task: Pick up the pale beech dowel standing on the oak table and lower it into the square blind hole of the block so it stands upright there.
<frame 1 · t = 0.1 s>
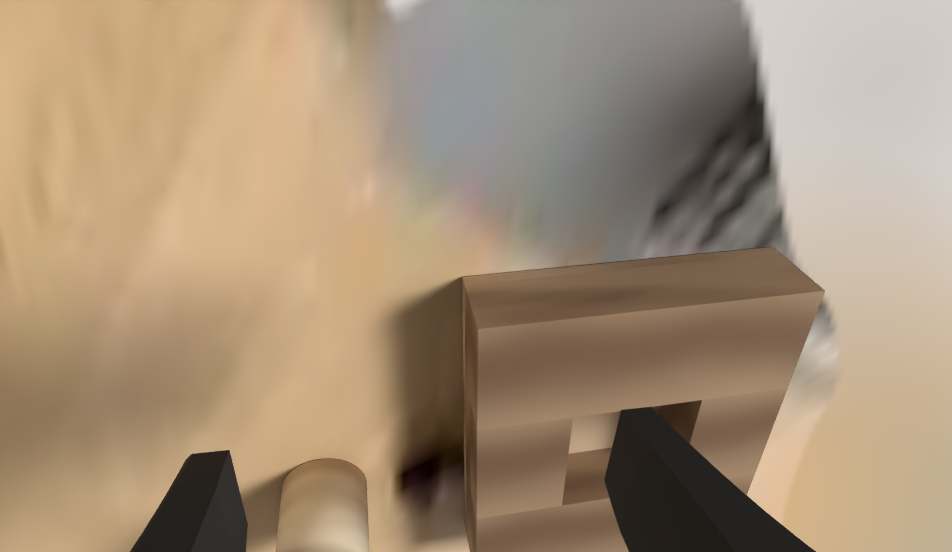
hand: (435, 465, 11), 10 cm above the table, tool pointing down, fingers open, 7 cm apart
socket block: (602, 400, 26), on the table
dowel: (324, 486, 26), on the table
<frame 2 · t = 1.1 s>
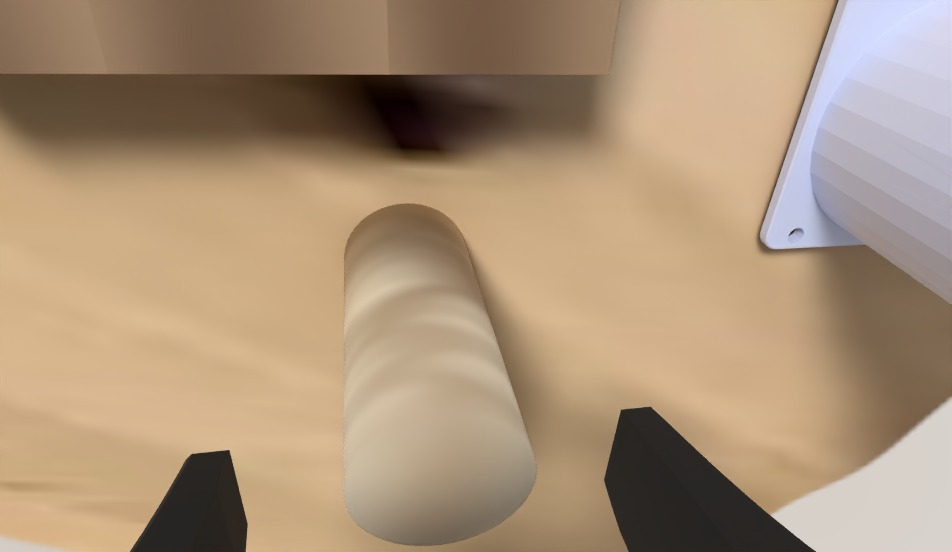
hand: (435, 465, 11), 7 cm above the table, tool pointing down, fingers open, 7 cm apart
dowel: (406, 258, 18), on the table
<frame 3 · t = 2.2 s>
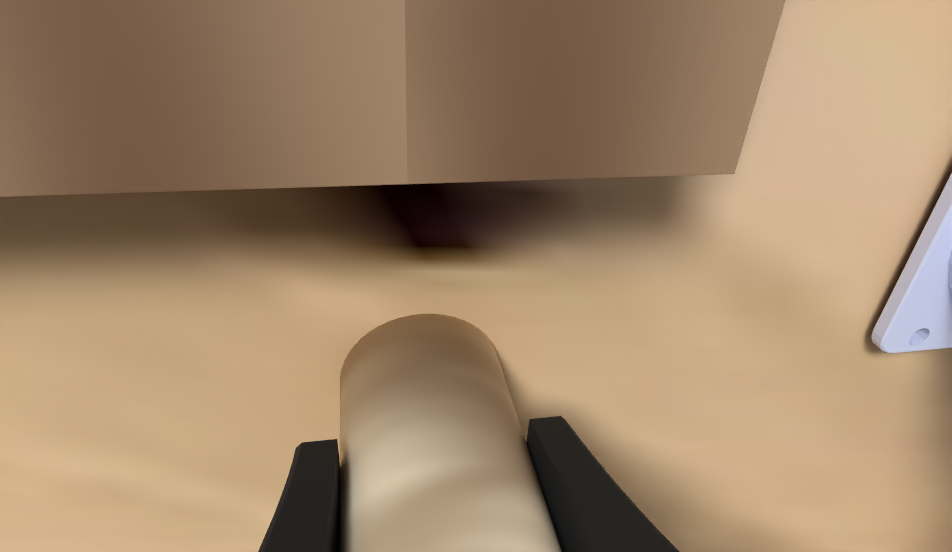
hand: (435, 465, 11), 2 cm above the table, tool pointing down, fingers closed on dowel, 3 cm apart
dowel: (421, 378, 13), on the table, touching gripper
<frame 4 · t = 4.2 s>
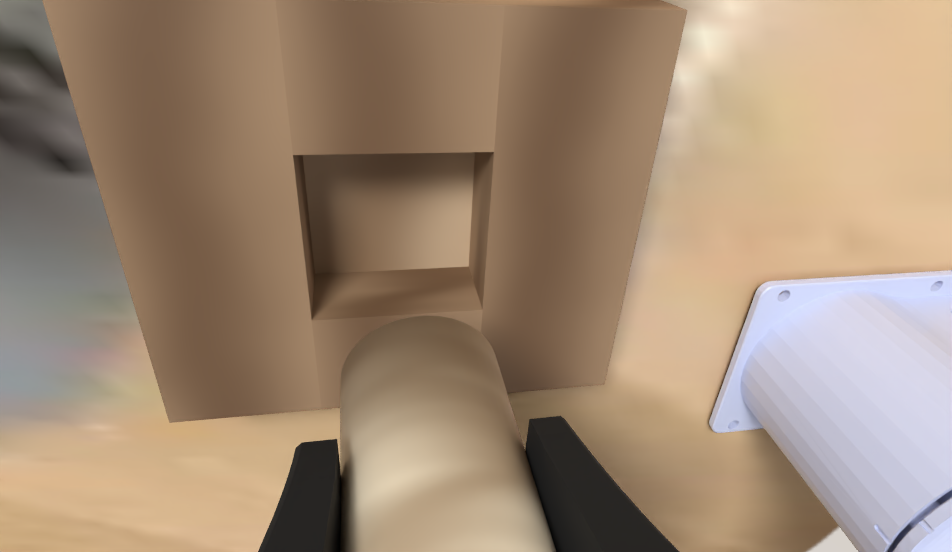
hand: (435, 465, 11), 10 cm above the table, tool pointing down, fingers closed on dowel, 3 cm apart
socket block: (390, 193, 19), on the table
dowel: (420, 377, 14), point 7 cm above the table, touching gripper
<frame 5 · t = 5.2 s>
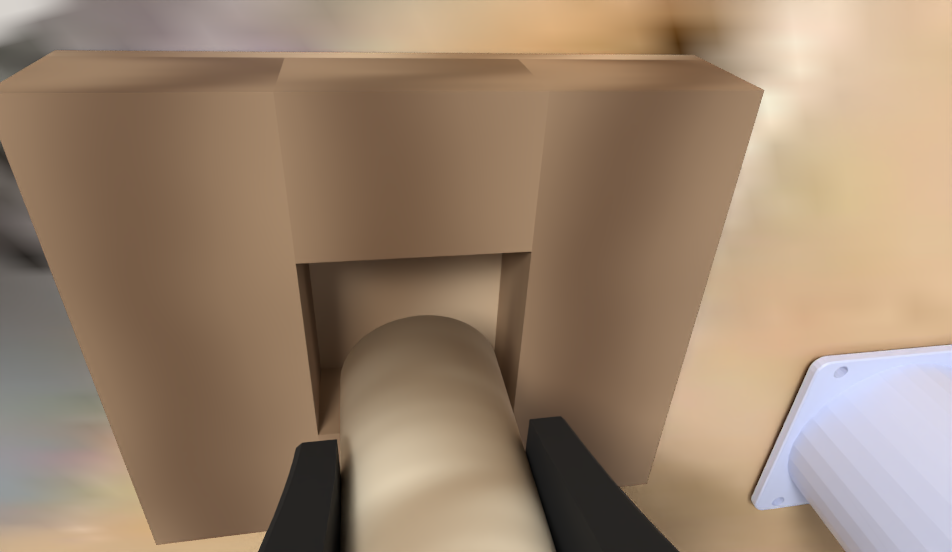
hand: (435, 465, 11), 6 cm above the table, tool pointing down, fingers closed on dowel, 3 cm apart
socket block: (407, 279, 17), on the table
dowel: (420, 377, 14), point 4 cm above the table, touching gripper
when the fingers open (4 cm above the table, at t = 6.2 s): dowel stays where it is, resting on socket block.
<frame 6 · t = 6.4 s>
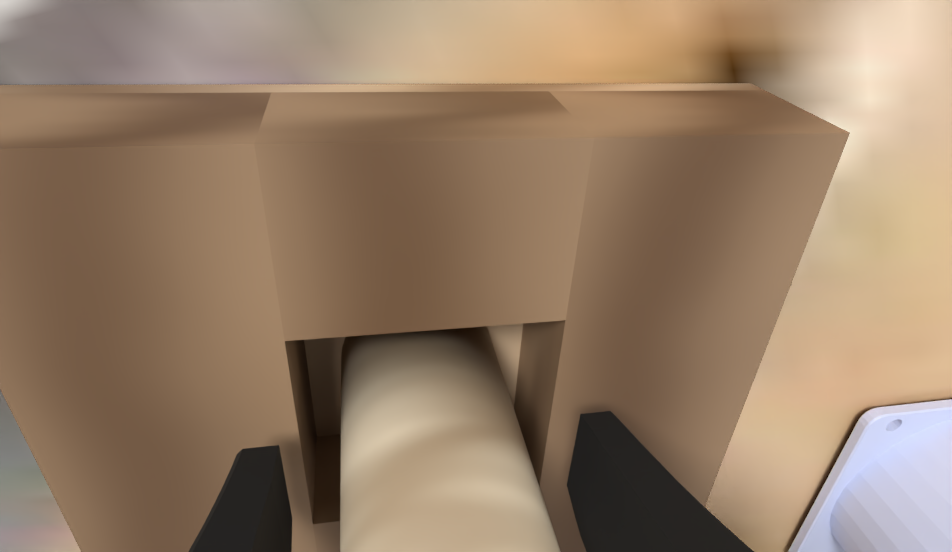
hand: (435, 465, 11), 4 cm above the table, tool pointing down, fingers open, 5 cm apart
socket block: (415, 336, 15), on the table
dowel: (417, 354, 14), point 1 cm above the table, touching socket block
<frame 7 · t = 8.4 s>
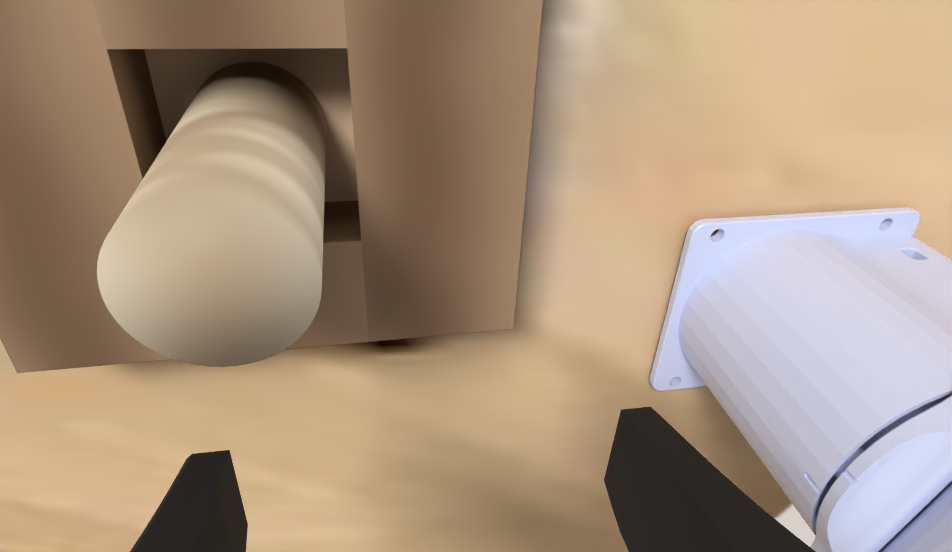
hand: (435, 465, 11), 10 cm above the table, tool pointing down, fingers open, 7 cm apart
socket block: (261, 116, 17), on the table
dowel: (261, 127, 17), point 1 cm above the table, touching socket block
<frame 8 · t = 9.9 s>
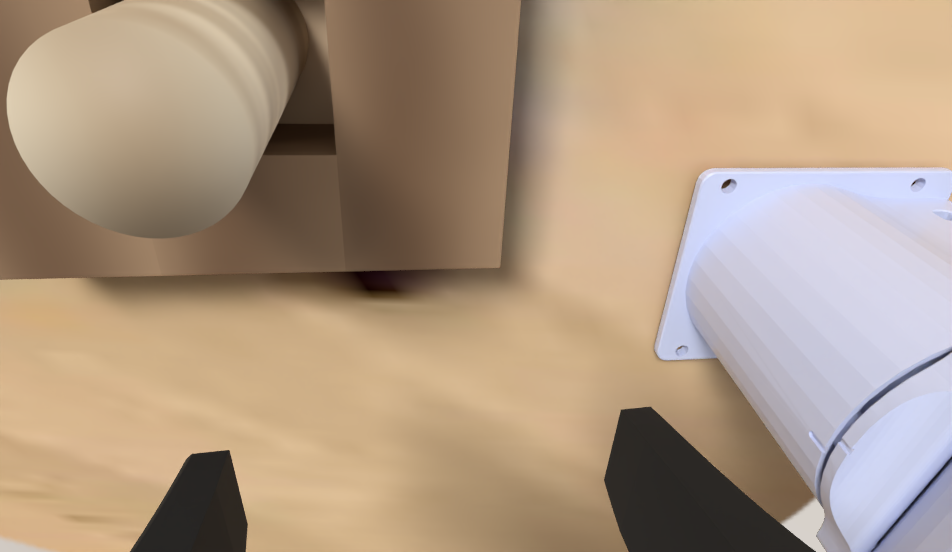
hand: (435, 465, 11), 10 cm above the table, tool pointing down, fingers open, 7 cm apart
socket block: (243, 27, 17), on the table
dowel: (240, 36, 16), point 1 cm above the table, touching socket block
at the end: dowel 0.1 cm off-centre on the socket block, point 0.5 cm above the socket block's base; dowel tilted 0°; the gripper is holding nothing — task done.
